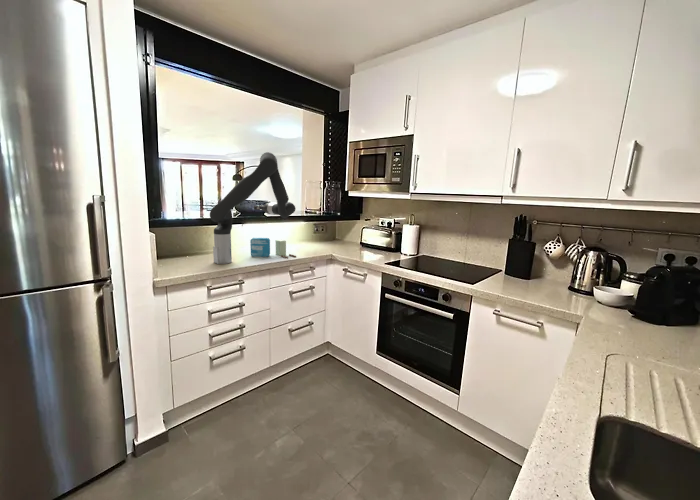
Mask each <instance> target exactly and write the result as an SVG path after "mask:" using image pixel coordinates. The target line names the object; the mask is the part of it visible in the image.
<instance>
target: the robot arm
mask: <svg viewBox="0 0 700 500" xmlns="http://www.w3.org/2000/svg"><path fill="white" fill-rule="evenodd" d="M267 179H269V182H270V184H271V189H272V191H273V195H274V197H275V200H276V202H270V201H269V202H267V203H265V204H259V205H253V210H256V211H264V212H265V214H268V215H277V216H279V217H281V218H282V219H287V218H289V217H290V216H292V214H294V213H295V212H296V208H297V207H296V205H295V204H294V203H292V202H289V200H290V199H289V195H288V193H287V190H286V187H285V185H284V182H283V180H282V177H281V175H280V172H279V166H278V158H277V157H276V155H275V154H274V153H272V152H270V151H269V152H268V151H267V152H263V153H262V154H261V156H260V158H259V164H258V166H257V167H256V168H255V169H254V170H253V172H251V173H250V174H249V175H247V176H245V177H243V178H242V179H241V180H239V181H238V182H237V183H236V184H235V185H234V187H233V188H232V189H231V190H230V191H229V192H228V193H227V194H226V195H225V197H224V198H223V199H221V200H220V201H219V202H218V203H217V204H215V205H214V206H213V207H212V208H211V210H210V211H209V218H210V220H211V221H212V222H214V223H217V225H216V226H215V228H213V243H214V244H213V245H214V246H212V252H213V254H212V256H213V263H215V264H217V265H224V264H230V263H232V262H233V261H232V258H233V257H232V233H231V231H232V229H233V213H232V209H233V208H235V207H237V206H238V205H240V204H242V203H243V202H245V201H246V200H248V198H250V197H251V195H253V194H254V192H255V191H256V190H257V189H258V188H259V187H260V186H261V185H262V184H263V182H264V181H266V180H267Z"/></svg>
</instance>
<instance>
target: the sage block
mask: <svg viewBox="0 0 700 500" xmlns="http://www.w3.org/2000/svg"><path fill="white" fill-rule="evenodd" d="M275 255H276V256H279V257H281V255H284V256H287V241H286V240H284V239H276V240H275Z"/></svg>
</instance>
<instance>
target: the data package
mask: <svg viewBox="0 0 700 500" xmlns="http://www.w3.org/2000/svg"><path fill="white" fill-rule="evenodd" d="M249 241H250V242H249V243H250V256H251V257H254V258H256V257H259V258H266V257H267V258H268V257H270V254H271V240H270V238H268V237H252V238H251V239H249Z"/></svg>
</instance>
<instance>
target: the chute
mask: <svg viewBox="0 0 700 500" xmlns="http://www.w3.org/2000/svg"><path fill="white" fill-rule="evenodd" d="M288 256H289V257H292V258H297V255H294V254H290V253H289V254H288ZM288 256H287V255H284V256H283V255H281V256H280V257H281V258H283V259H286V258H287V259H288V258H289V257H288Z"/></svg>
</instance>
